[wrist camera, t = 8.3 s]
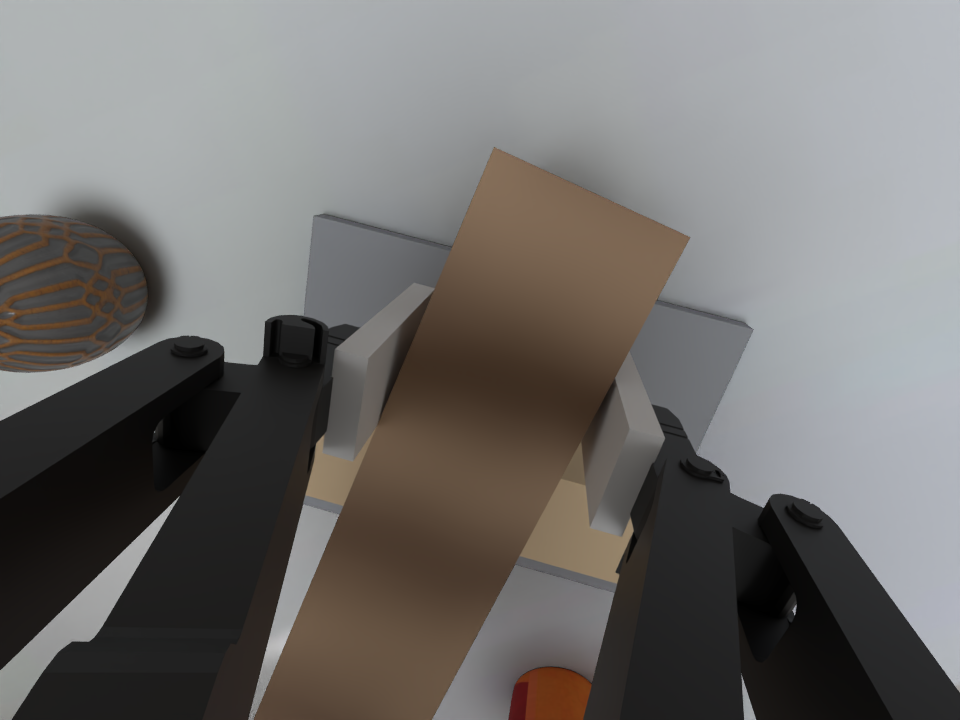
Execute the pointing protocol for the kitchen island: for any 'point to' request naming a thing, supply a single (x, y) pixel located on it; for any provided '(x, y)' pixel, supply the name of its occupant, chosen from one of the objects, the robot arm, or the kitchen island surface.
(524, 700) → the paper cup
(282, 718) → the walnut bar
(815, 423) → the kitchen island surface
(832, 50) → the kitchen island surface
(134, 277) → the vase
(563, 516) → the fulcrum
